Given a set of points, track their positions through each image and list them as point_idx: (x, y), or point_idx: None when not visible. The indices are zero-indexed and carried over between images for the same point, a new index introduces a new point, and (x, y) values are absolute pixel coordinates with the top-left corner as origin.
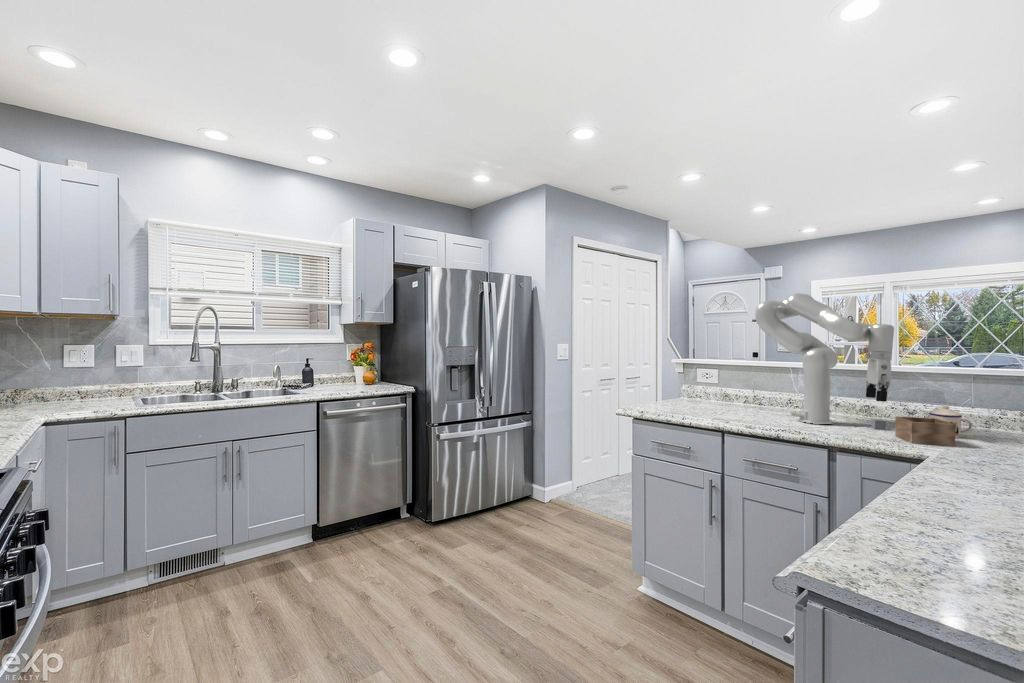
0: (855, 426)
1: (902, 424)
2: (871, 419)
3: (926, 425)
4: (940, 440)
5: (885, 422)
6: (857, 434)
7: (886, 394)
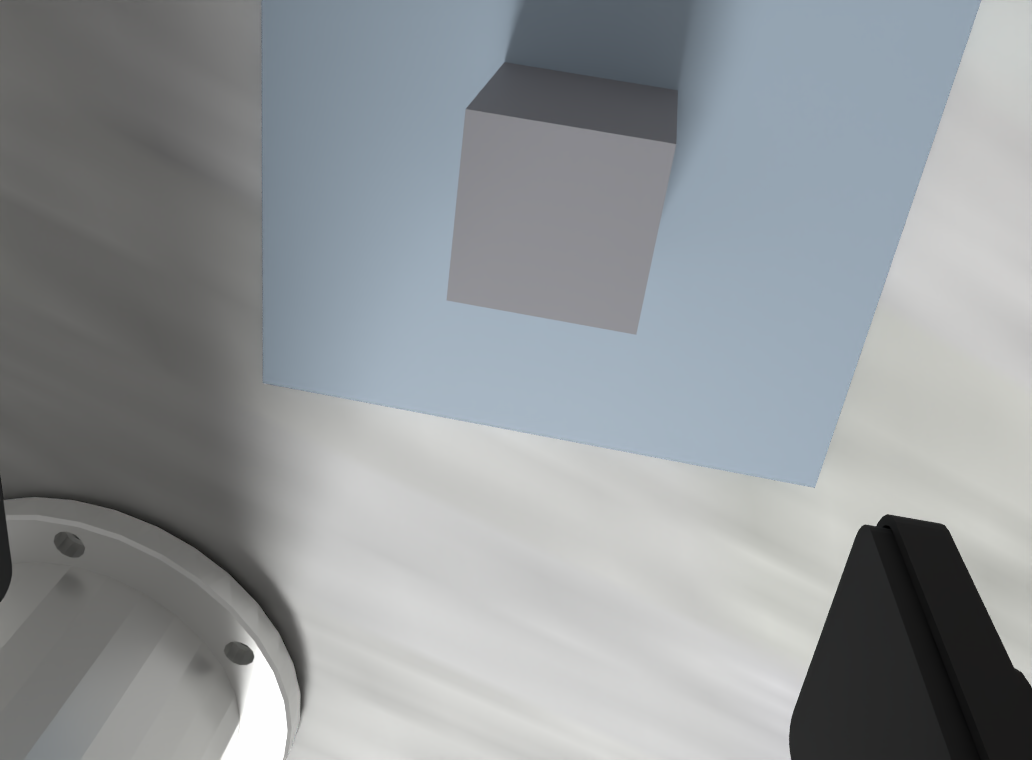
0: (233, 308)
1: None
2: (456, 296)
3: None
4: None
5: (674, 140)
6: None
7: (1029, 745)
